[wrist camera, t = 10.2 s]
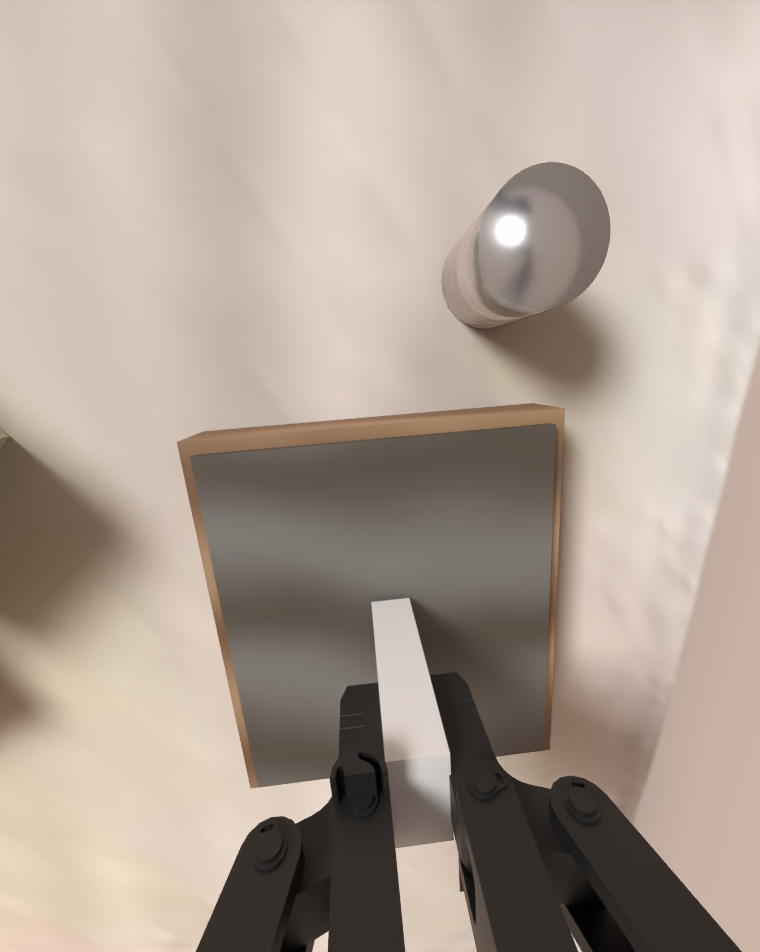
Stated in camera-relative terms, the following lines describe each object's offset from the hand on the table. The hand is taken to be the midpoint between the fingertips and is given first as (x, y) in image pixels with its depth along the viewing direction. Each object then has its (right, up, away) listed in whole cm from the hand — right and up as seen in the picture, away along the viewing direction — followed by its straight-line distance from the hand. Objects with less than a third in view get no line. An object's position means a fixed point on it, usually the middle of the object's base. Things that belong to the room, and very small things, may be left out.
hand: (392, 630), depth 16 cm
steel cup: (+4, +14, 0) cm, 14 cm away
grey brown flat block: (0, +1, +3) cm, 3 cm away
